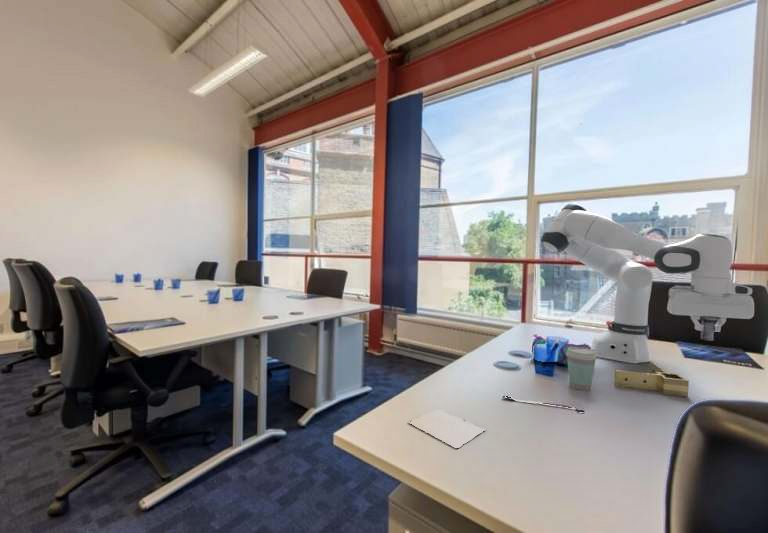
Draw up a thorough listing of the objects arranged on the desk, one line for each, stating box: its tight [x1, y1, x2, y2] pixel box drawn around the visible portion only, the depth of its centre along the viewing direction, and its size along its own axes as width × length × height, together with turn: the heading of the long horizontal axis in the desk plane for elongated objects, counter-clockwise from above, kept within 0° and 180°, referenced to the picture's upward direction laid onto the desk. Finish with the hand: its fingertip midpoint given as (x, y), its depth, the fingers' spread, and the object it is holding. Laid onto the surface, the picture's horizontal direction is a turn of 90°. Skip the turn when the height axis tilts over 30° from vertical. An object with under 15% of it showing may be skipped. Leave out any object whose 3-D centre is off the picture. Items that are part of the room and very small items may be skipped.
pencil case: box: [531, 334, 594, 367], centre depth 130 cm, size 21×9×10 cm, turn 50°
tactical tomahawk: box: [502, 396, 585, 413], centre depth 97 cm, size 21×7×1 cm, turn 68°
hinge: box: [613, 360, 690, 397], centre depth 112 cm, size 18×18×5 cm
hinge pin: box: [700, 316, 718, 342], centre depth 105 cm, size 4×4×7 cm
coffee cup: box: [566, 347, 598, 391], centre depth 108 cm, size 8×9×12 cm
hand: (707, 330), depth 105 cm, fingers closed on hinge pin, 3 cm apart
